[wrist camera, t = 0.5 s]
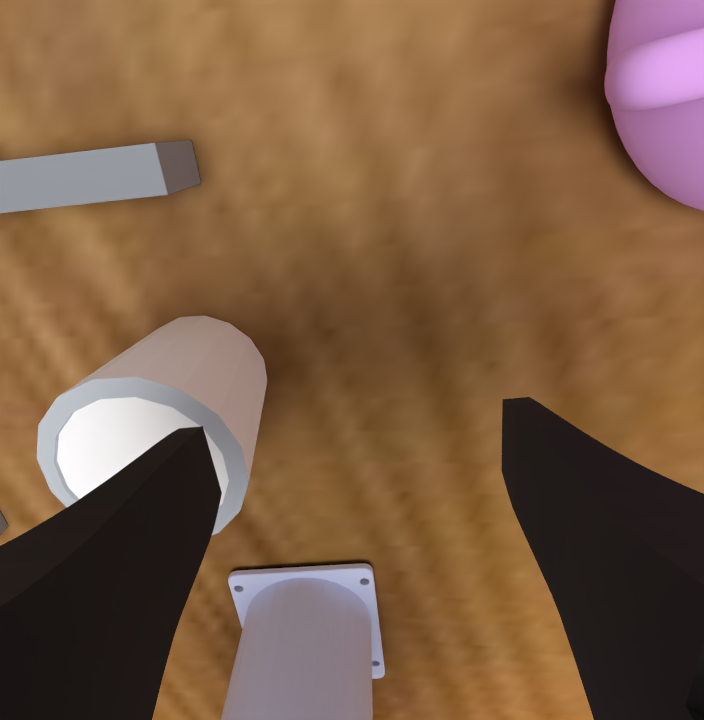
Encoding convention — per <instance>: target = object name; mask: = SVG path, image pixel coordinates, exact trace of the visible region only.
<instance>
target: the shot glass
mask: <svg viewBox="0 0 704 720" xmlns="http://www.w3.org/2000/svg"><path fill="white" fill-rule="evenodd" d="M266 386H267V375H266V369H265V364H264V359H263V357H262V356H261V354H260V352H259V351H258V349H257V348H256V346H255V345H254V343H253V342H252V340H251V339H250V338H249V337H248V336H246V335H245V334H244V333H242V332H241V331H240V330H238V329H237V328H236V327H234V326H233V325H232V324H230V323H228V322H224V321H221V320H218V319H214V318H211V317H208V316H205V315H204V316H190V317H179V318H177V319H175V320H173V321H171V322H169V323H167V324H165V325H163V326H161V327H159V328H158V329H156V330H155V331H153V332H152V333H150V334H149V335H148V336H146V337H145V338H143V339H142V340H140V341H139V342H137V343H136V344H134V345H133V346H131V347H130V348H128V349H127V350H126V351H124V352H123V353H121V354H120V355H118V356H117V357H115V358H114V359H112V360H111V361H109V362H108V363H106V364H105V365H104V366H102V367H101V368H99V369H98V370H96V371H95V372H93V373H92V374H90V375H89V376H87V377H86V378H84V379H83V380H82V381H80V382H79V383H77V384H76V385H74V386H73V387H71V388H70V389H68V390H67V391H65V392H64V393H62V394H61V395H60V396H58V397H57V398H56V400H55V401H54V403H53V404H52V406H51V407H50V409H49V410H48V412H47V413H46V415H45V416H44V418H43V419H42V421H41V422H40V424H39V425H38V443H37V460H38V462H39V465H40V467H41V469H42V472H43V474H44V476H45V479H46V481H47V483H48V485H49V488H50V490H51V492H52V493H53V494H54V495H55V496H56V497H57V498H58V499H59V500H60V501H61V502H62V503H63V504H64V505H65V506H66V507H69V506H70V505H72V504H73V503H75V502H76V501H78V500H79V499H81V498H82V497H83V496H85V495H86V494H88V493H89V492H91V491H92V490H93V489H95V488H96V487H98V486H99V485H101V484H102V483H104V482H105V481H106V480H108V479H109V478H111V477H112V476H113V475H115V474H116V473H118V472H119V471H120V470H122V469H123V468H124V467H126V466H127V465H128V464H130V463H131V462H132V461H134V460H135V459H136V458H138V457H139V456H140V455H142V454H143V453H144V452H146V451H147V450H148V449H150V448H151V447H152V446H154V445H155V444H156V443H158V442H159V441H160V440H162V439H163V438H165V437H166V436H167V435H169V434H170V433H172V432H174V431H175V430H177V429H179V428H189V427H200V426H203V429H204V432H205V435H206V439H207V442H208V446H209V449H210V453H211V456H212V460H213V463H214V467H215V470H216V474H217V477H218V481H219V484H220V488H221V491H222V495H221V500H220V504H219V509H218V514H217V518H216V522H215V526H214V530H213V533H212V535H215V534H217V533H219V532H220V531H221V530H222V529H223V528H224V527H225V526H226V525H227V524H228V523H229V522H230V521H231V520H232V519H233V518H234V517H235V516H236V515H237V514H238V513H239V512H240V510H241V507H242V503H243V500H244V497H245V493H246V490H247V486H248V483H249V479H250V473H251V468H252V462H253V457H254V451H255V446H256V441H257V435H258V430H259V424H260V419H261V413H262V408H263V403H264V397H265V392H266Z"/></svg>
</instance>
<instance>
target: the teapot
mask: <svg viewBox="0 0 704 720" xmlns="http://www.w3.org/2000/svg"><path fill="white" fill-rule="evenodd" d="M604 87H605V95H606V98H607V101H608V103H609V104H610V107H611V111H612V115H613V118H614V122H615V125H616V129H617V131H618V134H619V136H620V138H621V140H622V143H623V145H624V147H625V149H626V151H627V152H628V154H629V156H630V157H631V159H632V160H633V162H634V163H635V165H636V166H637V168H638V169H639V170H640V171H641V173H642V174H643V175H644V176H645V177H646V178H647V179H648V180H649V181H650V182H651V183H652V184H653V185H654V186H655V187H657V188H658V189H659V190H661V191H662V192H663V193H664V194H666V195H667V196H669V197H671V198H673V199H675V200H676V201H678V202H680V203H682V204H684V205H687V206H690V207H693V208H696V209H698V210H701V211H704V0H616V2H615V6H614V11H613V15H612V20H611V25H610V31H609V40H608V49H607V71H606V74H605V84H604Z"/></svg>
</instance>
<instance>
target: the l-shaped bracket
mask: <svg viewBox="0 0 704 720" xmlns="http://www.w3.org/2000/svg"><path fill="white" fill-rule="evenodd" d="M200 183H201V181H200V176H199V172H198V167H197V163H196V158H195V154H194V149H193V145H192V140H188V141H174V142H161V143H150V144H141V145H133V146H124V147H116V148H107V149H99V150H90V151H82V152H73V153H65V154H56V155H48V156H39V157H31V158H22V159H14V160H5V161H0V213H7V212H16V211H25V210H34V209H43V208H52V207H61V206H70V205H79V204H88V203H97V202H106V201H115V200H124V199H133V198H143V197H152V196H161V195H168V194H171V193H174V192H177V191H180V190H183V189H186V188H189V187H192V186H195V185H198V184H200ZM7 527H8V525H7V523H6V521H5V519H4V517H3V515H2V514H1V512H0V535H1V534H2V532H3V531H4V530H5V529H6V528H7Z"/></svg>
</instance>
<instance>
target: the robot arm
mask: <svg viewBox="0 0 704 720" xmlns="http://www.w3.org/2000/svg"><path fill="white" fill-rule="evenodd" d="M502 473H503V477H504V480H505V484H506V487H507V491H508V494H509V497H510V500H511V504H512V507H513V509H514V512H515V514H516V516H517V519H518V521H519V523H520V525H521V528H522V530H523V532H524V534H525V537H526V539H527V541H528V543H529V545H530V548H531V550H532V552H533V554H534V556H535V559H536V561H537V563H538V565H539V567H540V570H541V572H542V574H543V576H544V578H545V581H546V583H547V585H548V587H549V589H550V592H551V594H552V596H553V599H554V601H555V604H556V606H557V609H558V611H559V614H560V617H561V620H562V623H563V626H564V629H565V632H566V634H567V637H568V640H569V643H570V646H571V649H572V652H573V655H574V658H575V661H576V664H577V667H578V671H579V674H580V677H581V680H582V683H583V686H584V689H585V693H586V696H587V699H588V702H589V705H590V708H591V711H592V715H593V718H594V720H704V494H703V493H700V492H698V491H696V490H693V489H691V488H688V487H686V486H684V485H682V484H679V483H677V482H675V481H673V480H671V479H669V478H667V477H664V476H662V475H660V474H658V473H656V472H654V471H651V470H649V469H647V468H646V467H644V466H642V465H640V464H638V463H636V462H634V461H632V460H630V459H628V458H627V457H625V456H623V455H621V454H619V453H618V452H616V451H614V450H612V449H610V448H609V447H607V446H605V445H604V444H602V443H600V442H599V441H597V440H595V439H594V438H592V437H590V436H589V435H587V434H586V433H584V432H582V431H581V430H579V429H578V428H576V427H575V426H573V425H572V424H570V423H569V422H567V421H565V420H564V419H562V418H561V417H559V416H558V415H556V414H555V413H553V412H552V411H550V410H549V409H547V408H546V407H544V406H543V405H541V404H540V403H538V402H537V401H535V400H533V399H532V398H530V397H526V398H514V399H503V418H502ZM221 495H222V491H221V488H220V484H219V481H218V477H217V474H216V470H215V467H214V463H213V460H212V456H211V453H210V449H209V446H208V442H207V439H206V435H205V432H204V429H203V426H200V427H189V428H179V429H177V430H175V431H174V432H172V433H170V434H169V435H167V436H166V437H165V438H163V439H162V440H160V441H159V442H158V443H156V444H155V445H154V446H152V447H151V448H150V449H148V450H147V451H146V452H144V453H143V454H142V455H140V456H139V457H138V458H136V459H135V460H134V461H132V462H131V463H130V464H128V465H127V466H126V467H124V468H123V469H122V470H120V471H119V472H118V473H116V474H115V475H113V476H112V477H111V478H109V479H108V480H106V481H105V482H104V483H102V484H101V485H99V486H98V487H96V488H95V489H93V490H92V491H91V492H89V493H88V494H86V495H85V496H83V497H82V498H81V499H79V500H78V501H76V502H75V503H73V504H72V505H70V506H69V507H67V508H66V509H64V510H62V511H61V512H59V513H58V514H56V515H54V516H53V517H51V518H49V519H48V520H46V521H44V522H43V523H41V524H39V525H38V526H36V527H34V528H33V529H31V530H29V531H27V532H26V533H24V534H22V535H20V536H18V537H17V538H15V539H13V540H11V541H9V542H7V543H5V544H3V545H1V546H0V720H152V717H153V713H154V709H155V705H156V701H157V697H158V693H159V689H160V685H161V681H162V677H163V674H164V670H165V666H166V663H167V659H168V655H169V652H170V648H171V644H172V641H173V637H174V634H175V631H176V628H177V625H178V622H179V619H180V617H181V614H182V611H183V609H184V606H185V604H186V601H187V598H188V596H189V593H190V591H191V588H192V585H193V583H194V580H195V578H196V575H197V573H198V570H199V567H200V565H201V562H202V560H203V557H204V554H205V552H206V549H207V546H208V544H209V541H210V538H211V536H212V533H213V530H214V526H215V522H216V518H217V514H218V509H219V504H220V500H221ZM363 578H366V579H363ZM228 583H229V587H230V590H231V593H232V597H233V600H234V603H235V607H236V610H237V613H238V617H239V620H240V623H241V627H242V634H241V638H240V642H239V646H238V650H237V654H236V659H235V663H234V667H233V671H232V675H231V679H230V683H229V687H228V692H227V696H226V700H225V704H224V708H223V712H222V716H221V720H373V708H372V679H378V678H381V677H383V676H384V675H385V666H384V658H383V650H382V641H381V633H380V625H379V616H378V608H377V600H376V592H375V583H374V575H373V569H372V567H371V566H370V565H369V564H366V563H359V564H342V565H325V566H308V567H291V568H274V569H257V570H240V571H233V572H232V573H230V575H229V578H228Z"/></svg>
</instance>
